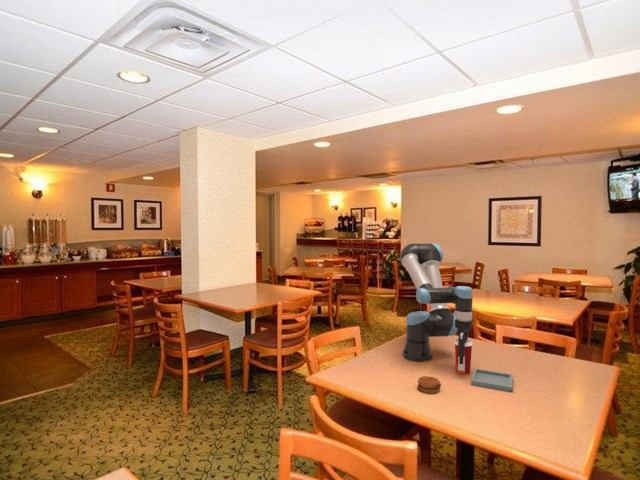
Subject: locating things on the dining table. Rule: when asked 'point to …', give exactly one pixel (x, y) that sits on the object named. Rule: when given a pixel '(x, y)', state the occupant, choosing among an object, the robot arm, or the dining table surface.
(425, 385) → the burger
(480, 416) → the dining table surface
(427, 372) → the dining table surface
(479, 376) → the tray
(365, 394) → the dining table surface
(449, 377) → the dining table surface
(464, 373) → the coffee cup
